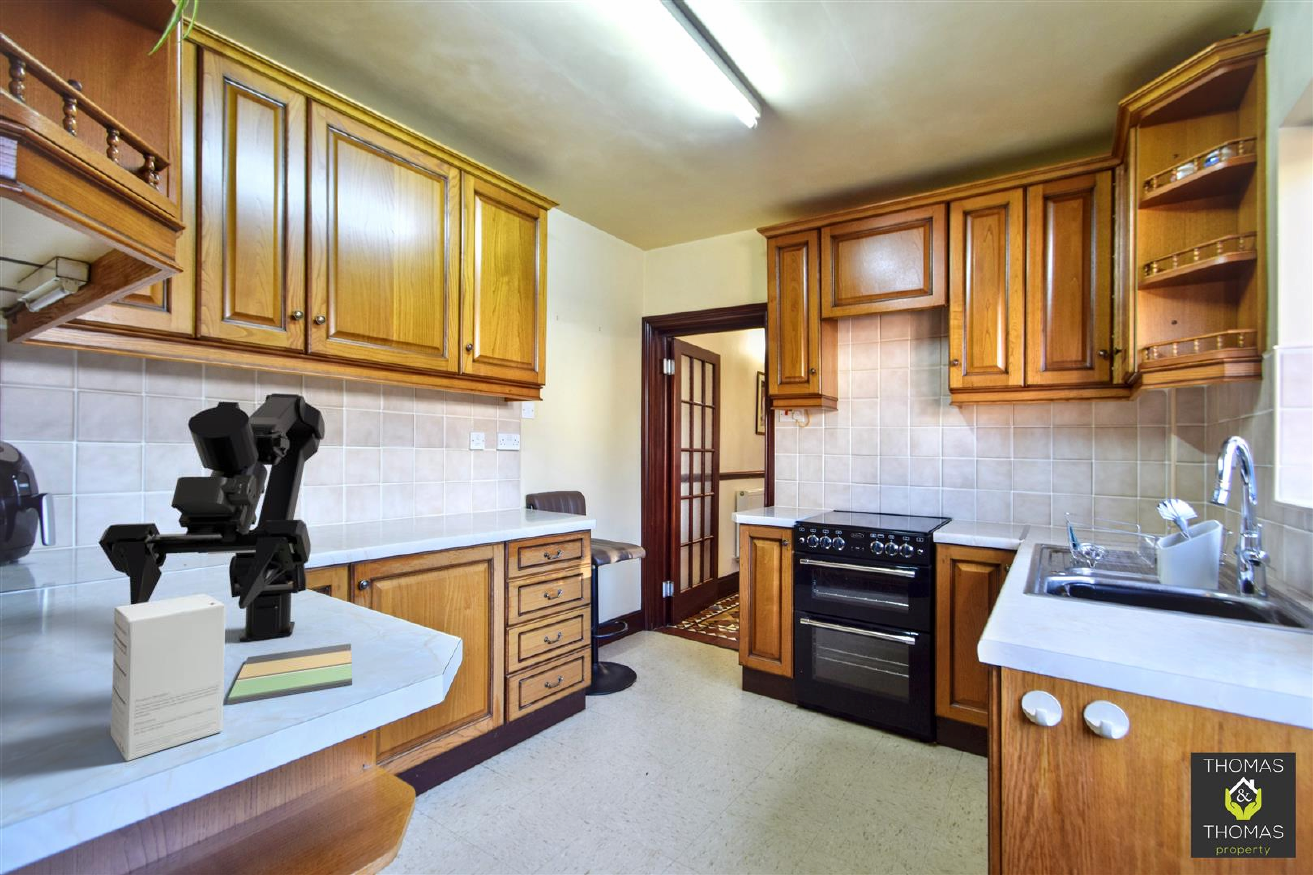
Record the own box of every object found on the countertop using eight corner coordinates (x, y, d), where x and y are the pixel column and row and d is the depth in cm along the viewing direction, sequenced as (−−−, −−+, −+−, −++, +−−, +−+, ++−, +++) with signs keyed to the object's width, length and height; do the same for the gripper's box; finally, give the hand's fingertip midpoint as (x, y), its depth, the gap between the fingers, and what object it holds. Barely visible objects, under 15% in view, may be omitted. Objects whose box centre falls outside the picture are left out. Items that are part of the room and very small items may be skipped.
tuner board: (247, 660, 76) (248, 656, 76) (350, 647, 81) (350, 642, 81) (227, 704, 63) (227, 698, 63) (351, 684, 68) (352, 679, 68)
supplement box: (203, 711, 61) (207, 591, 61) (223, 733, 56) (228, 603, 57) (108, 737, 55) (113, 605, 56) (122, 763, 51) (127, 619, 51)
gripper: (112, 450, 63) (39, 570, 52) (308, 452, 69) (278, 560, 58) (146, 515, 70) (87, 633, 59) (320, 512, 76) (296, 618, 65)
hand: (189, 610), depth 60 cm, fingers open, 9 cm apart
